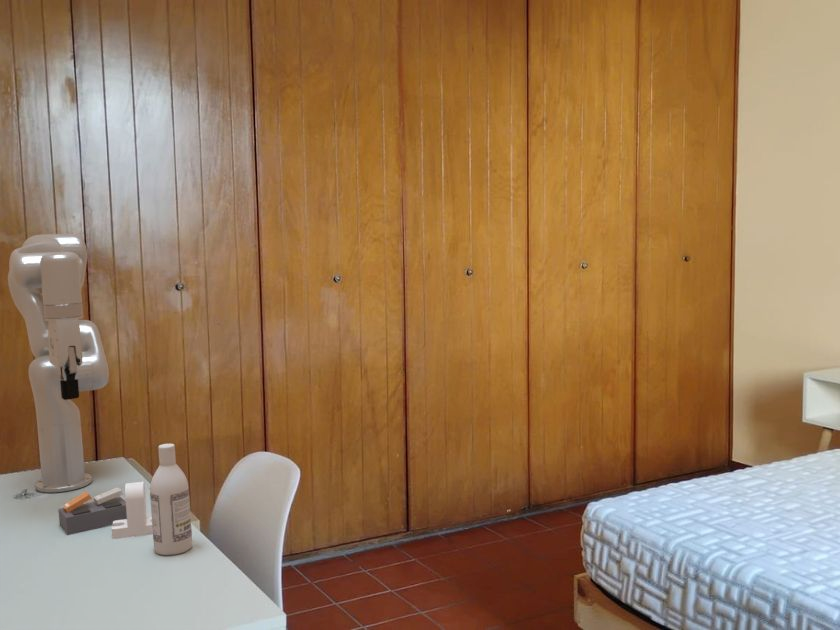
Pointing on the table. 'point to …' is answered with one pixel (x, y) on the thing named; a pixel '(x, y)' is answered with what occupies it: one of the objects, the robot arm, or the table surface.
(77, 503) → the rocker orange
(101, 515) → the rocker switch box
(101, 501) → the rocker grey
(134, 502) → the cable organizer
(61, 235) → the robot arm
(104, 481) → the table surface
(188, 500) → the bath foam
